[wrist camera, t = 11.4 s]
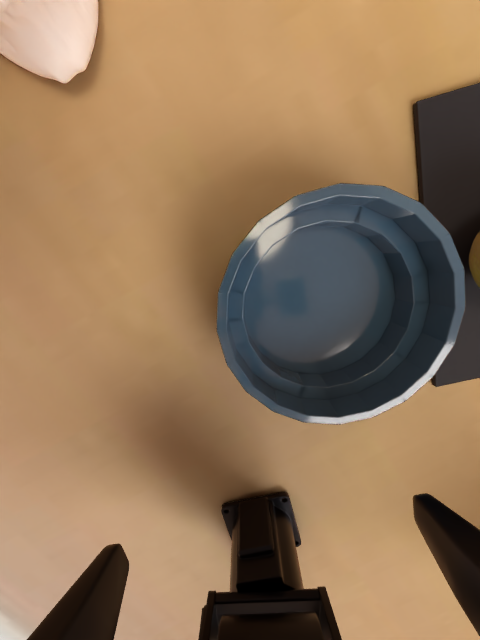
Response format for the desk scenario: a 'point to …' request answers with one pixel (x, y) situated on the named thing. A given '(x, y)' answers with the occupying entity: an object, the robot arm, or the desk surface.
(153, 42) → the desk surface
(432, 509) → the robot arm
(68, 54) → the skull planter
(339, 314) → the bowl
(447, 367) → the place mat
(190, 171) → the desk surface
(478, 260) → the fruit
